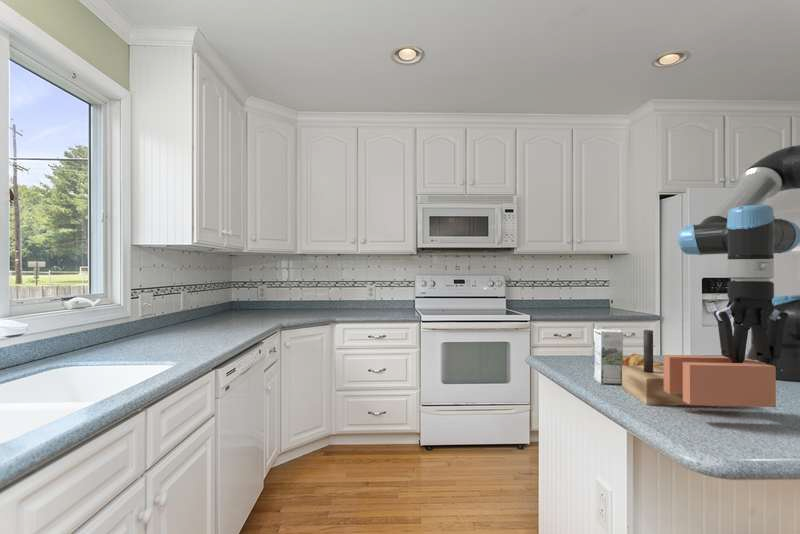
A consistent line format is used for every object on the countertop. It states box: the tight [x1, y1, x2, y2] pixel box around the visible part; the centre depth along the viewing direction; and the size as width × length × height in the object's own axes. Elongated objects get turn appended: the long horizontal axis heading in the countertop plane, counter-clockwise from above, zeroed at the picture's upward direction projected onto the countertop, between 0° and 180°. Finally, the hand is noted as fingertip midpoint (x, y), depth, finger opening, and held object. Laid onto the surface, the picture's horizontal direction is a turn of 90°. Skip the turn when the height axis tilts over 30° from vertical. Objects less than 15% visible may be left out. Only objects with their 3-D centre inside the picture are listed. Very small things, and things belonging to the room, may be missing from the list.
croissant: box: [623, 353, 664, 366], centre depth 121 cm, size 21×10×8 cm, turn 34°
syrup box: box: [593, 327, 624, 385], centre depth 116 cm, size 6×6×14 cm
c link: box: [663, 354, 777, 408], centre depth 89 cm, size 16×10×8 cm, turn 85°
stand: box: [621, 329, 732, 408], centre depth 103 cm, size 18×13×16 cm
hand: (750, 392), depth 89 cm, fingers closed on c link, 2 cm apart
